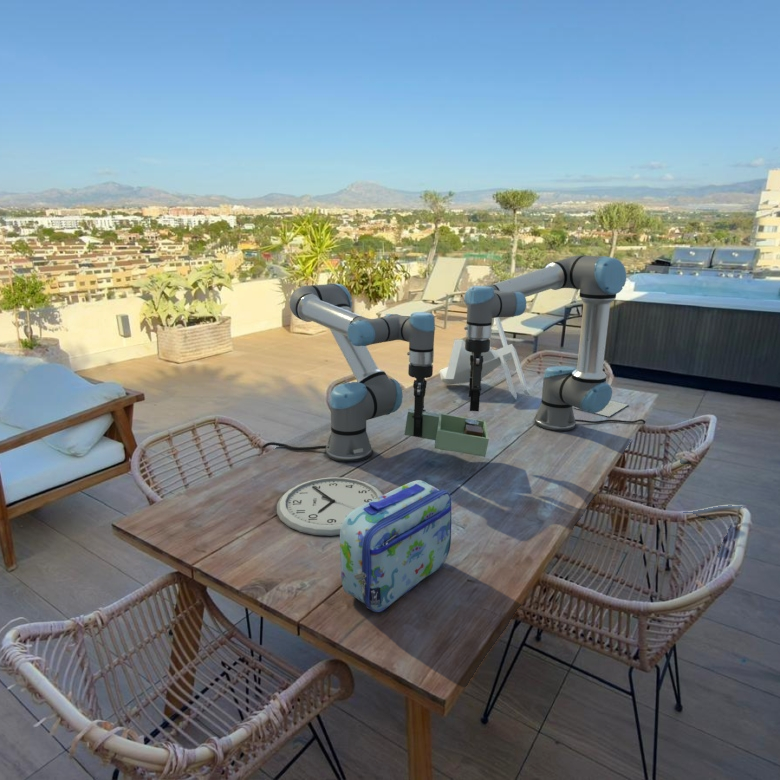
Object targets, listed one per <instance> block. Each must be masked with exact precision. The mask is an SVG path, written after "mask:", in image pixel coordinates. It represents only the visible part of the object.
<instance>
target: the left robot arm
mask: <svg viewBox="0 0 780 780" xmlns="http://www.w3.org/2000/svg"><path fill="white" fill-rule="evenodd" d="M352 307H353V301H352V295H351V292H350V291H349V290H348V288H347V287H345V285H343V284H340V283H333V282H331V283H330V282H329V283H325V284H311V285H310V284H309V285H307V284H306V285H303V286H300V287H297V288H296V289H295V290H294V291H293V292H292V294H291V296H290V298H289V308H290V311H291V313H292V315H293V316H295V317H296V318H297V319H299V320H301V321H303V322H305V323H310V322H313V323H315V324H318V325H320V326H322V327H325V328H327V329H329V330H330V332H331V334H332V336H333V338H334V340H335V342H336V343H337V346H338V347H339V350H340V351H341V354H342V356H343V357H344V359H345V361H346V363H347V364H348V366H349V368H350V370H351V372H352V374H353V377H354V378H355V380H356V381H351V382H344V383H341V384H338V385H336V386H335V387H334V388H333V389H332V390H331V393H330V401H329V406H330V434H329V437H328V439H327V443H326V444H325V445H314V446H292V445H289V444H286V443H281V442H276V441H270V442H266V443H264V444H263V445H262V447H261V448H262V449H265V448H267V447H269V446H277V447H283V448H287V449H289V450H293V451H312V450H322V449H325V454H326V456H327V458H329V459H330V460H332V461H335V462H340V463H357V462H361V461H363V460H366V459H368V458H370V456H372V453H373V452H372V450H373V448H372V444H371V443H370V439H369V438H370V437H369V435H368V433H367V421H369V420H372V419H373V420H374V419H376V418H379V417H383V416H388V415H390V414H392V413H395V412H397V411H398V410H399V409H400V407H401V406H402V403H403V398H404V393H403V388H402V386H401V384H400V382H399V381H398V380H396V379H394V378H389V377H388V375H387V373H386V371H384V370H381V369H379V367H378V365H377V363H376V362H375V360H374V358H373V356H372V354H371V352H370V350H369V349H368V347H367V346H370V345H371V346H372V345H377V344H381V343H388V342H394V341H402V342H407V343H408V351H407V352H406V355H407V356H408V362H409V363H408V369H407V371H408V373H407V374H408V376H409V377H411V378H414V380H413V385H412V387H413V397H414V401H413V402H414V403H413V405H414V407H413V410H414V415H412V418H414V434H413V436H414V437H413V436H412V437H413V438H419V437H422V425H423V415H422V412H423V411H425V412H427V411H426V409H424V408H425V396H426V389H427V382H428V381H427V380H426V379H429V378H431V377H433V371H434V365H433V363H434V356H435V352H434V351H435V350H434V349H435V347H434V346H435V333H436V332H435V331H436V323H435V322H436V321H435V320H436V319H435V315H434V314H433V313H431V312H425V311H424V312H423V311H418V312H412V313H411V314H410V315H409V316H405V315H401V314H397V313H388V314H386V315H384V316H383V317H378V318H377V317H375V318H368V317H365V316H362V315H360V314H357V313H355V312H352Z"/></svg>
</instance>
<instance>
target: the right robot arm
mask: <svg viewBox="0 0 780 780" xmlns="http://www.w3.org/2000/svg"><path fill="white" fill-rule="evenodd" d="M626 282H627V270H626V266H625V265H624V264H623V263H622V261H621V260H620V259H618V258H615V257H611V256H606V255H605V256H601V255H585V254H580V255H573V256H569V257H566V258H563V259H560V260H557V261H552V262H550V263H548V264H546V266H545V267H544V268H540V269H537V270H533V271H531V272H527V273H524V274H521V275H518V276H515V277H511V278H508V279H505V280H502V281H499V282H496V283H492V284H487V285H473V286H471V287H469V288H468V289H467V290H466V291H465V293H464V304H465V305H466V306H467V309H466V326H464V327H463V329H464V330H465V340H464V342H465V350H467V351H469V352H472V355H470V365H471V369H470V377H472V378H470V382H469V383H468V384H469V387H468V398H469V399H470V400H469V404H470V405H469V412H479V411H480V401H481V400H480V398H481V391H482V386H481V385H482V381H481V371H482V364H483V356H481V353H483V352H484V353H485V352H488V351H489V350H490V347H491V339H490V338H491V337H492V328H493V327H492V323H493V319H495V318H496V317H499V318H509V317H512V318H514V317H518V316H522V315H523V314H524V313H525V311H526V309H527V298H526V297H530V296H533V295H536V294H539V293H543V292H545V291H546V292H547V291H548V290H553V291H558V290H561V289H573V290H579V296H578V297H579V298H580V300H581V301H582V302H583V304H582V313H581V314H582V315H581V324H580V333H579V345H578V352H577V353H578V354H577V355H578V356H577V363H576V364H577V366H576V367H574V366H566V365H565V366H564V365H557V366H550V367H547V368H546V369H545V370H544V375H543V381H542V392H541V402H540V405H539V407H538V410H537V411H536V413H535V415H534V424H535V425H536V426H537V427H539V428H542V429H544V430H549V431H556V432H567V431H572V430H574V429H575V428H576V422H579V423H588V424H601V423H607V422H608V423H609V422H612V423H613V422H615V423H616V422H617V423H627V424H635V423H639V422H643V423H647V421H645V420H644V419H642V418H640V419H636V420H621V419H602V420H585V419H576V418H575V417H576V416H575V413H574V407H576V408H579V409H578V410H580V409H581V411H583V412H587V413H590V414H596V413H597V412H600V411H601V410H603V409H604V408H605V407H606V406H607V405H608V403H609V401H611V399H612V396H613V388H612V387H611V385H610V384H609V383H607V377H608V376H607V374H606V373H605V372H604V361H605V352H606V345H607V336H608V326H609V320H610V319H609V318H610V309H611V303H612V302H613V301H615V300H616V298H617V294H619V293H620V292H621V291H623V287H625V285H626ZM576 408H575V409H576Z"/></svg>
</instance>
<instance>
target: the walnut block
mask: <svg viewBox="0 0 780 780" xmlns="http://www.w3.org/2000/svg"><path fill="white" fill-rule="evenodd" d="M464 434H467V435H473V436H479V437H482V436H483V431H482V427H479V426H472V425H466V427H465V432H464Z"/></svg>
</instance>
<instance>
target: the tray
mask: <svg viewBox="0 0 780 780" xmlns="http://www.w3.org/2000/svg"><path fill="white" fill-rule="evenodd" d="M412 415H414V408H413V409H412V408H408V410H407V415H406V421H405V427H404V428H405V429H404V434H403V435H404V436H408V437H413V438H415V437H414V436H413V434H414V418H412ZM422 415H423V425H422V437H418V438H419V439H426V440H431V441H434V449H436V450H442V451H448V452H454V453H460V454H466V455H471V456H477V457H484V458H486V456H487V455H486V454H487V450H488V447H489V446H488V445H489V440H490V438H489V431H488V424H487V420H482V419H476V418H473V419H474V420H476V421H478V422H479V427H482V431H483V436H482V437H479V436H473V435H467V434H463V430H464V425H465V420H466V419H472V418H471V417H465V416H459V415H454V414H447V413H441V412H438V413H437V412H429V411H426V412H425V411H423V412H422Z"/></svg>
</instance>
